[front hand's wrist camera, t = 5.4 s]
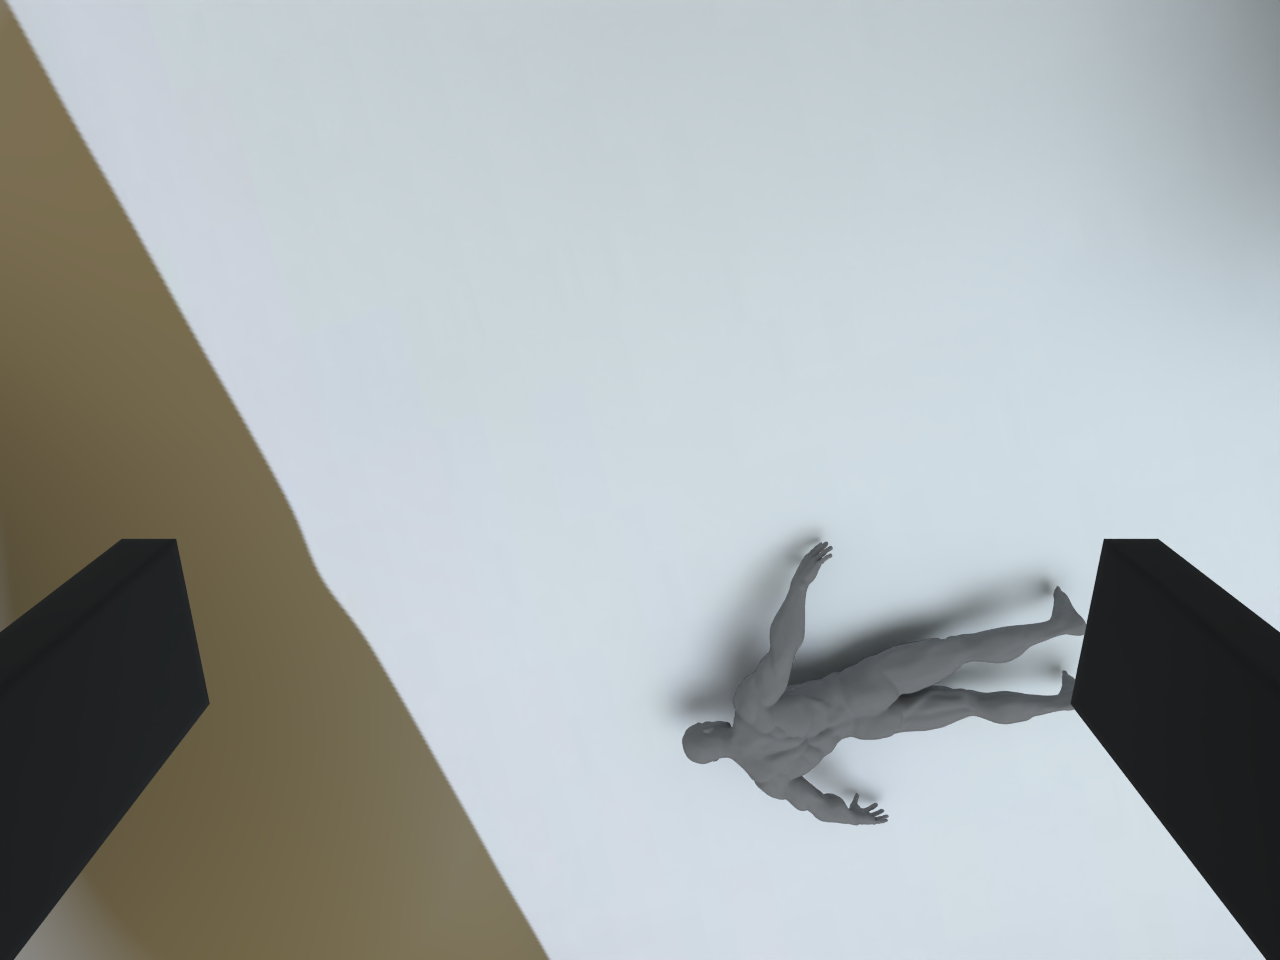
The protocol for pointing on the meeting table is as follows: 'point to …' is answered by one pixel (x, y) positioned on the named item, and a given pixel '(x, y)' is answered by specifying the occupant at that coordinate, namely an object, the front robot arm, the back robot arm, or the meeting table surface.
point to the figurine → (863, 700)
